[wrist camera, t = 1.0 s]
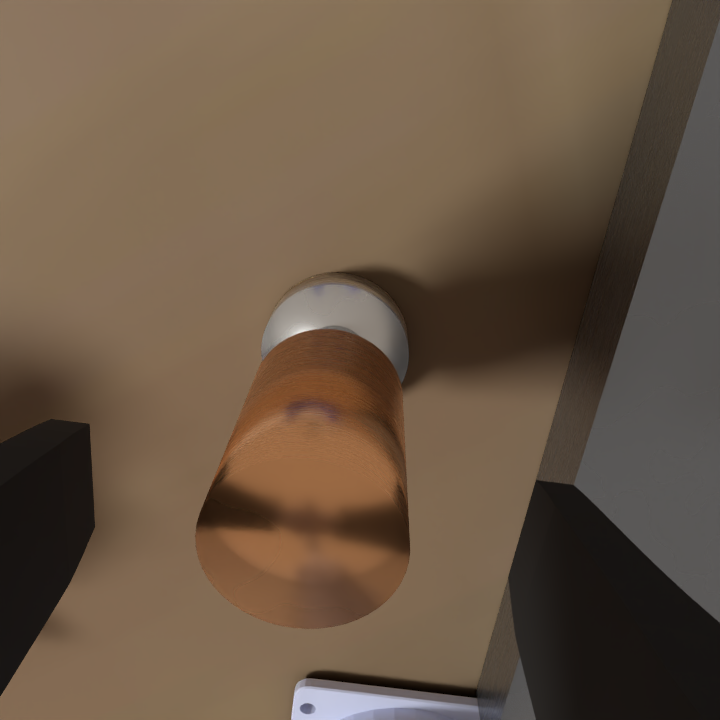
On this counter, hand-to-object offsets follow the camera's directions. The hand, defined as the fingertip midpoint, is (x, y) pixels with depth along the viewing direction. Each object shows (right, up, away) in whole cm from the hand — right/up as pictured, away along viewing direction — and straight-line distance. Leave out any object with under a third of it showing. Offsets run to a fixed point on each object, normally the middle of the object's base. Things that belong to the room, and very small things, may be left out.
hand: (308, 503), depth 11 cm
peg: (0, +3, +6) cm, 7 cm away
